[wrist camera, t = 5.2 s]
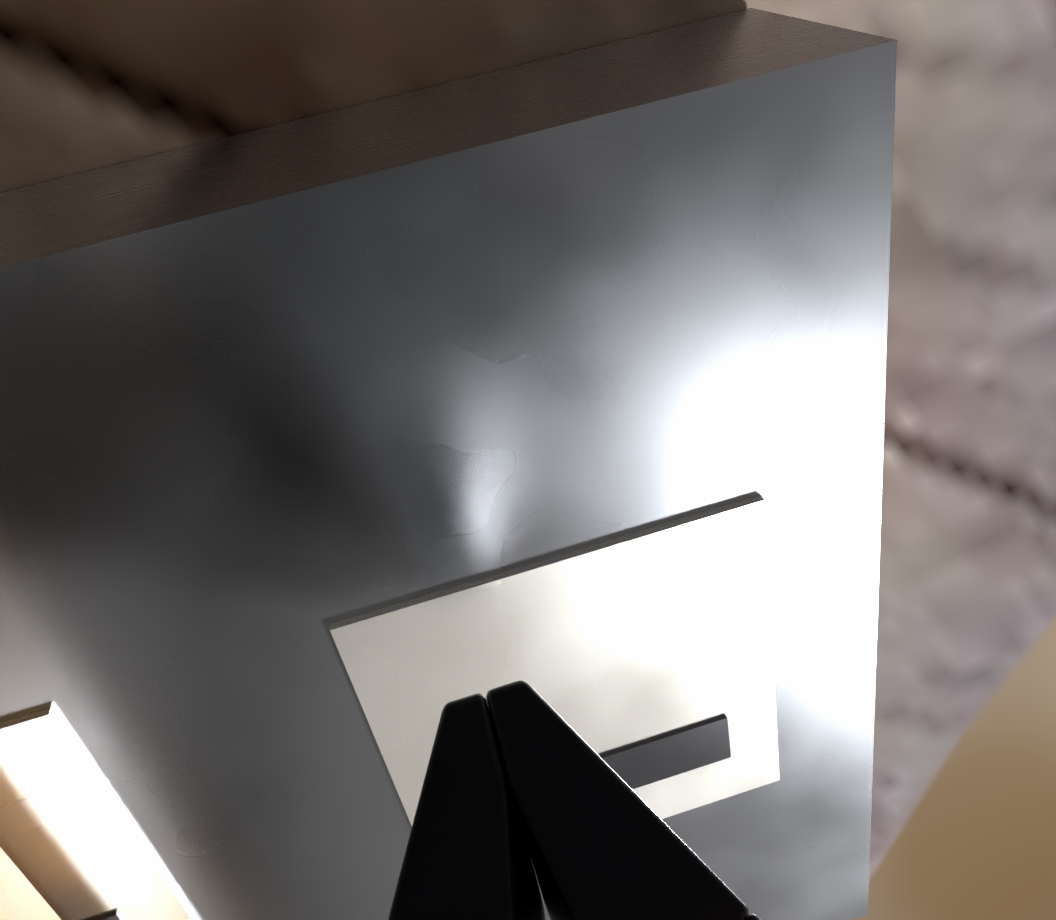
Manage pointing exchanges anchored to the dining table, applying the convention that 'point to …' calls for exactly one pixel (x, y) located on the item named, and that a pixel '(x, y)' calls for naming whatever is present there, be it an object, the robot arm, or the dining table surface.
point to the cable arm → (20, 895)
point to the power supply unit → (453, 472)
